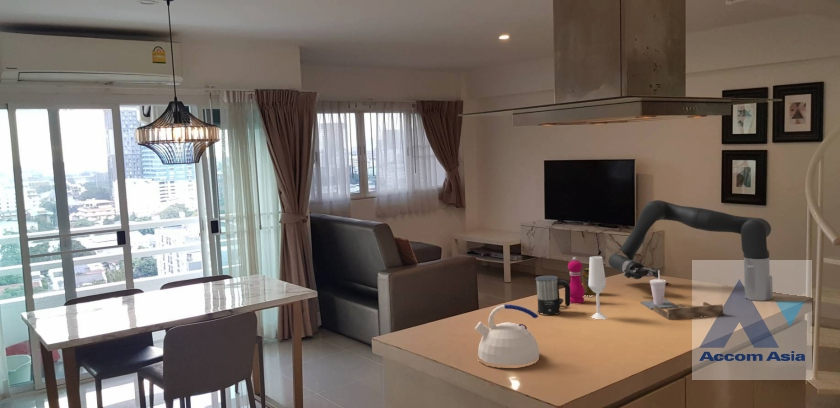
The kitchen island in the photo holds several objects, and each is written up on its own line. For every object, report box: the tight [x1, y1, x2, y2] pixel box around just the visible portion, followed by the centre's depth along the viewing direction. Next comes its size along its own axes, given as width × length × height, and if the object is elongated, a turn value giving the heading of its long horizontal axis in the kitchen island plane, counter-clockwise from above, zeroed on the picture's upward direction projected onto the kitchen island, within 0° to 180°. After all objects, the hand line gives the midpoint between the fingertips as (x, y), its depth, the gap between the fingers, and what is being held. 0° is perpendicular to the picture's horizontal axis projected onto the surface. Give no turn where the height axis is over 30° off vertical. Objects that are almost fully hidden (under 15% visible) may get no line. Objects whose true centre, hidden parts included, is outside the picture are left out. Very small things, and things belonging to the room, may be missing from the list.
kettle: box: [474, 304, 541, 365], centre depth 195 cm, size 20×21×18 cm
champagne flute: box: [588, 255, 608, 320], centre depth 234 cm, size 7×7×24 cm
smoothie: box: [649, 269, 667, 305], centre depth 247 cm, size 6×6×14 cm
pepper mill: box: [567, 256, 585, 304], centre depth 261 cm, size 7×7×20 cm
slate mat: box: [640, 299, 679, 310], centre depth 247 cm, size 11×11×1 cm
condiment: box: [581, 267, 601, 298], centre depth 273 cm, size 7×8×12 cm
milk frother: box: [534, 275, 571, 315], centre depth 250 cm, size 14×16×15 cm
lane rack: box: [653, 301, 724, 321], centre depth 233 cm, size 21×13×4 cm, turn 92°
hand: (648, 276), depth 256 cm, fingers open, 8 cm apart
